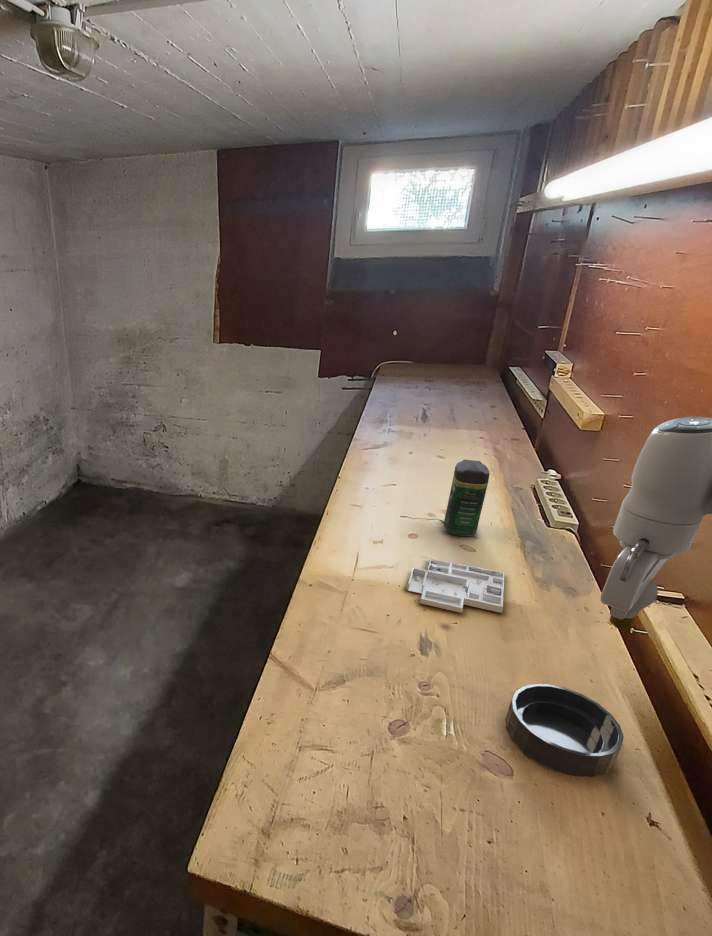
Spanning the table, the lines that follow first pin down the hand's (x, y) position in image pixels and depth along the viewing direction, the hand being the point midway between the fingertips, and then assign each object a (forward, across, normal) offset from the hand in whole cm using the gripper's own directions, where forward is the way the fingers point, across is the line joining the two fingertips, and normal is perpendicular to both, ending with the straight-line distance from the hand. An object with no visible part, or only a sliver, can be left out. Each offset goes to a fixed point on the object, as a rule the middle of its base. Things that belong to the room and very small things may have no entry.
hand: (623, 607), depth 87 cm
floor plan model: (+19, +13, +29) cm, 37 cm away
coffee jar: (+19, +44, +43) cm, 64 cm away
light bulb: (+4, 0, 0) cm, 4 cm away
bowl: (+19, -14, 0) cm, 23 cm away
